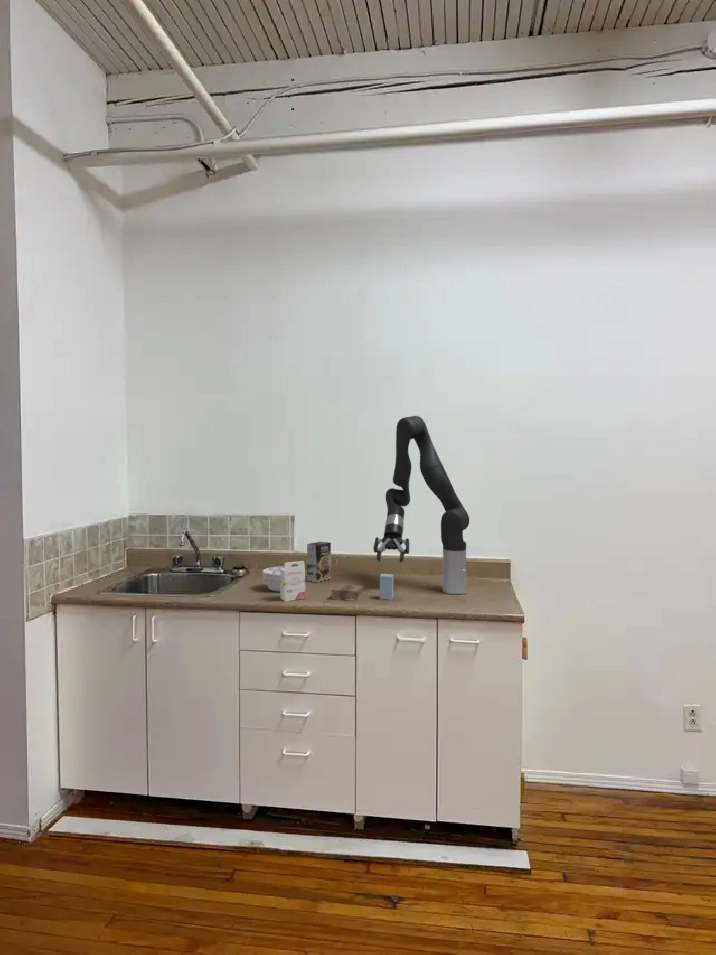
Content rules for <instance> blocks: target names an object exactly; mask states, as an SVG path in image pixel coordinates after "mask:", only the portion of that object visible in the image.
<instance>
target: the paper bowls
mask: <svg viewBox="0 0 716 955" xmlns="http://www.w3.org/2000/svg"><path fill="white" fill-rule="evenodd" d="M284 568H285V565H283V566H282V565H281V566H271V567H267V568H264V569H263V570H262V574H261V575H262V579H261V580H262V581H261V582H262V584H263V585H266V586H267V588H268V589H269V590H270V591H273V592H280V569H284Z"/></svg>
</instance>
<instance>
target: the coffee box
mask: <svg viewBox="0 0 716 955" xmlns="http://www.w3.org/2000/svg"><path fill="white" fill-rule="evenodd" d="M331 548H332V543H331V542H326V541H317V542H311V543H307V544H306V581H307V582H311V581H312V583H316V582H318V583H321V582H320V581H322V582H325V581H324V580H326V581H329V580H328V579H330V580H331V576H332V573H331V572H332V570H331V566H332V565H331V564H332V562H331V559H332V558H331V556H332V553H331V552H332V551H331V550H332V549H331Z"/></svg>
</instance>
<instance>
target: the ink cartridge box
mask: <svg viewBox="0 0 716 955" xmlns="http://www.w3.org/2000/svg"><path fill="white" fill-rule="evenodd" d="M294 565H295V566H294ZM296 565H297V566H296ZM284 566H285V568H284V569H280V591H279V592H280V595H279V596H280V600H282V601H284V602H291V600H292V601H299V599H300V600H306V569H305V561H304V560H298V561H290V562H287V561H286V562H284Z"/></svg>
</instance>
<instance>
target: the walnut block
mask: <svg viewBox="0 0 716 955" xmlns="http://www.w3.org/2000/svg"><path fill="white" fill-rule="evenodd" d="M362 594H363V595H364V585H356V584H355V585H353V584H342V583H341V584H337V585H336V586H335V587H333V588H332V589H331V599H332V598H334V599H354V600H358V598H359V597H360V596H361V595H362ZM358 601H359V600H358Z"/></svg>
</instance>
